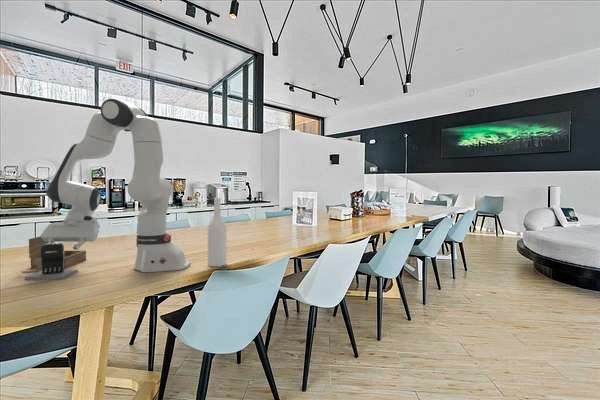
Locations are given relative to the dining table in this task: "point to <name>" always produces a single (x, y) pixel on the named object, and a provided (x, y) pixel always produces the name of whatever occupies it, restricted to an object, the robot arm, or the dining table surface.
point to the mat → (51, 275)
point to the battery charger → (52, 258)
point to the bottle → (217, 238)
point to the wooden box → (35, 255)
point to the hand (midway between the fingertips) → (62, 249)
